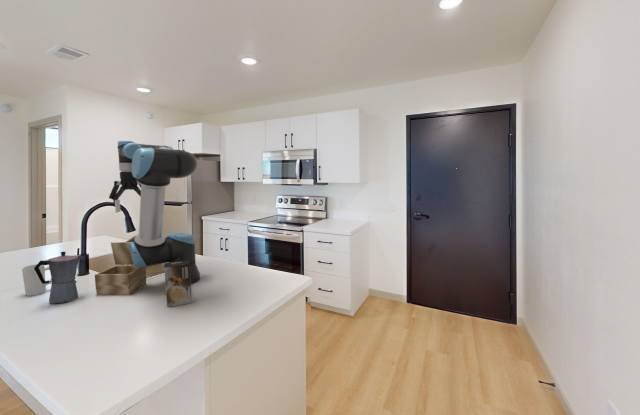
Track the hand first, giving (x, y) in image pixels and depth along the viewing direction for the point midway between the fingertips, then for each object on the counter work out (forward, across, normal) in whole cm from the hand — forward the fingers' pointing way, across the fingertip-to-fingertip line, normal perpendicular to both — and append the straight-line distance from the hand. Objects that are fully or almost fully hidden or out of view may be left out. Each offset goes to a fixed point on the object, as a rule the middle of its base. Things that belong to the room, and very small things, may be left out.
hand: (131, 212), depth 148 cm
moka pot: (+32, +7, +36) cm, 48 cm away
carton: (+32, -10, +25) cm, 42 cm away
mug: (+32, +24, +27) cm, 48 cm away
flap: (+16, -10, +21) cm, 28 cm away
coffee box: (+32, -42, +38) cm, 65 cm away
